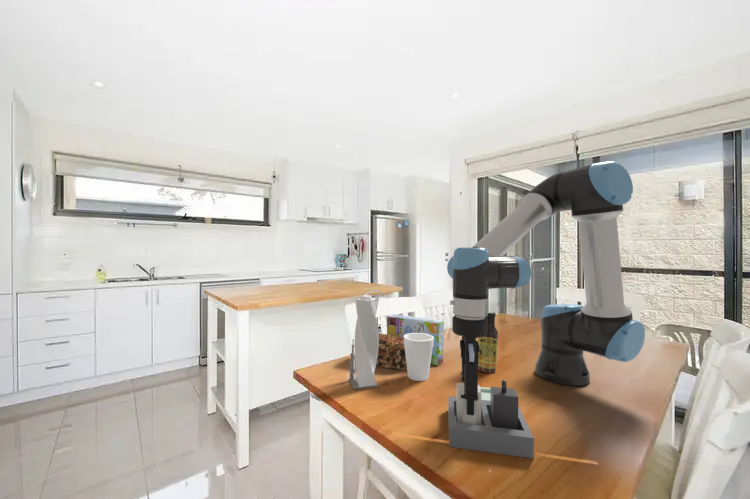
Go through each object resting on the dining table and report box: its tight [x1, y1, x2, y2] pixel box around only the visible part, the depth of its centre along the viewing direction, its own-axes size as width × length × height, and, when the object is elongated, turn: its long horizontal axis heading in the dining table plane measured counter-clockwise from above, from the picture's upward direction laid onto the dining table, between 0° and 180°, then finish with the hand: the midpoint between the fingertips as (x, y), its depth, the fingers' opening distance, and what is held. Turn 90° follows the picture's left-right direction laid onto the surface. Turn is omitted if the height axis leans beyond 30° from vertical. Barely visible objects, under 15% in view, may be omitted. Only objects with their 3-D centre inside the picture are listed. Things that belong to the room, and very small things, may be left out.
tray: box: [480, 386, 491, 401], centre depth 84 cm, size 10×13×1 cm
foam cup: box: [404, 333, 434, 382], centre depth 99 cm, size 10×9×13 cm
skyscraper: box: [348, 289, 382, 390], centre depth 94 cm, size 8×8×28 cm
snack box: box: [386, 313, 445, 366], centre depth 117 cm, size 21×6×15 cm, turn 58°
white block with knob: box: [456, 382, 481, 425], centre depth 70 cm, size 5×4×12 cm
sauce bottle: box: [477, 310, 499, 374], centre depth 106 cm, size 7×6×20 cm
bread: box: [376, 333, 407, 371], centre depth 112 cm, size 19×11×10 cm, turn 69°
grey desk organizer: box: [447, 379, 535, 459], centre depth 70 cm, size 16×14×12 cm
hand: (468, 419), depth 70 cm, fingers open, 6 cm apart
